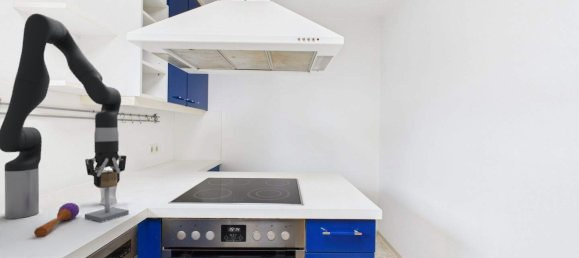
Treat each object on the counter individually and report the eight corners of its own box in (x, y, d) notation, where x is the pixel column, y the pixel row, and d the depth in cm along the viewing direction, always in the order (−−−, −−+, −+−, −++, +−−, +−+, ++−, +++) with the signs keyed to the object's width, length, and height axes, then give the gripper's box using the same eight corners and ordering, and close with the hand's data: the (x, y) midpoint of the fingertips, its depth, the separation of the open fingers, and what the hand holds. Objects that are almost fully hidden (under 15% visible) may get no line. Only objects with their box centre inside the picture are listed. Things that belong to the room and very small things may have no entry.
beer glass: (117, 204, 120) (116, 169, 119) (97, 206, 116) (97, 170, 116) (118, 200, 126) (118, 167, 126) (100, 202, 123) (99, 168, 122)
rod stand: (84, 218, 102) (84, 189, 101) (112, 210, 111) (112, 184, 111) (101, 222, 97) (101, 192, 97) (128, 214, 106) (128, 186, 106)
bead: (93, 187, 102) (93, 173, 102) (110, 183, 108) (110, 171, 108) (104, 188, 100) (103, 174, 100) (120, 185, 105) (120, 172, 105)
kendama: (26, 225, 83) (61, 202, 103) (31, 244, 84) (65, 217, 104) (49, 220, 85) (79, 198, 104) (54, 238, 86) (84, 213, 105)
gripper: (119, 138, 112) (119, 180, 112) (79, 140, 99) (80, 187, 99) (131, 139, 109) (131, 182, 109) (92, 141, 95) (92, 189, 96)
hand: (107, 184), depth 104 cm, fingers closed on bead, 6 cm apart
